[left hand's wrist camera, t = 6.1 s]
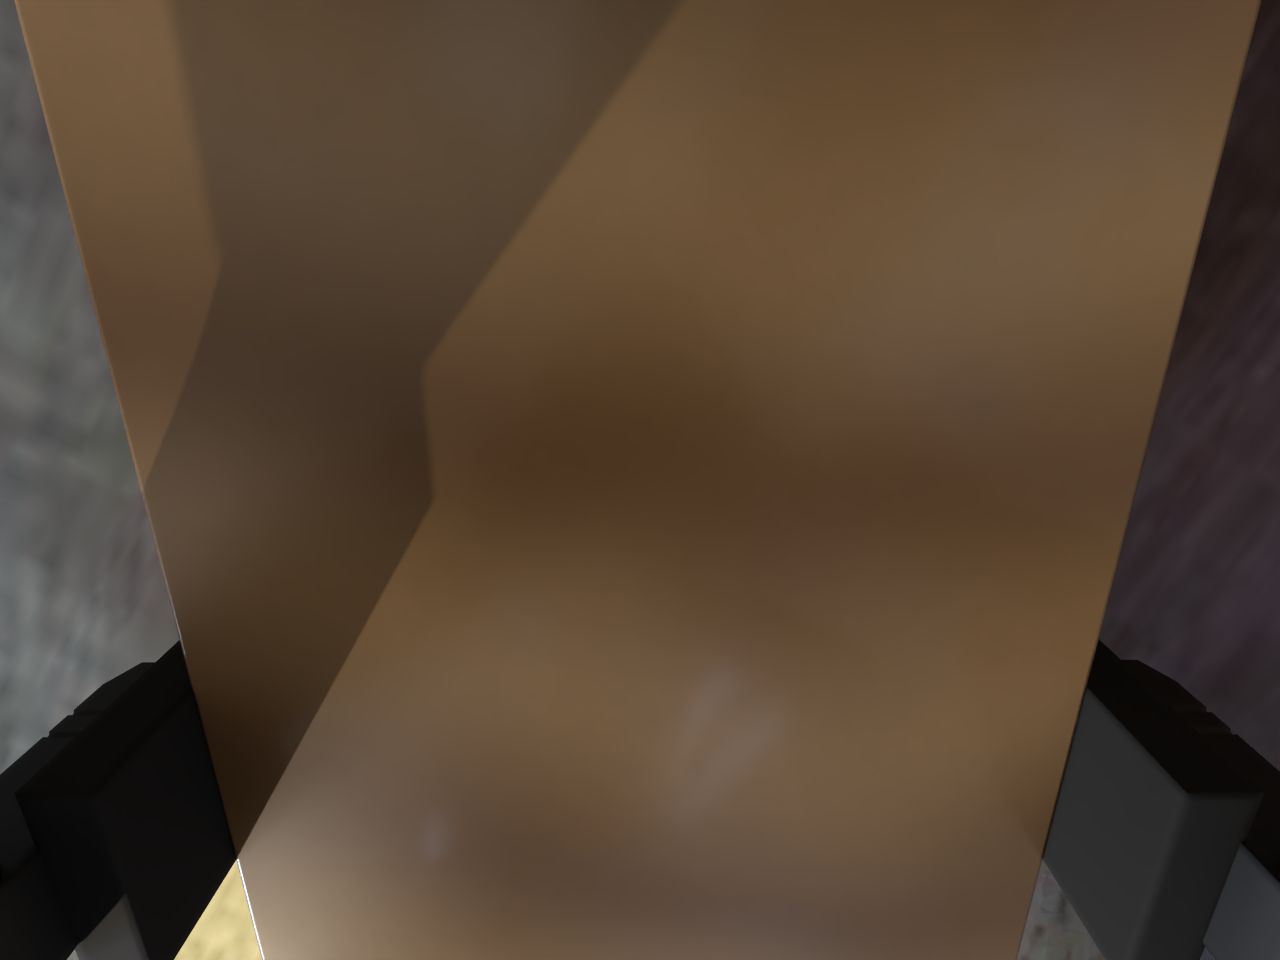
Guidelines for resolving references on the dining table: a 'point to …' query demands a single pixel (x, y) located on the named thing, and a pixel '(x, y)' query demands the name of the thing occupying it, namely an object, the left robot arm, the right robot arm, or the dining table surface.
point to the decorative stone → (1054, 926)
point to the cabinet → (638, 440)
